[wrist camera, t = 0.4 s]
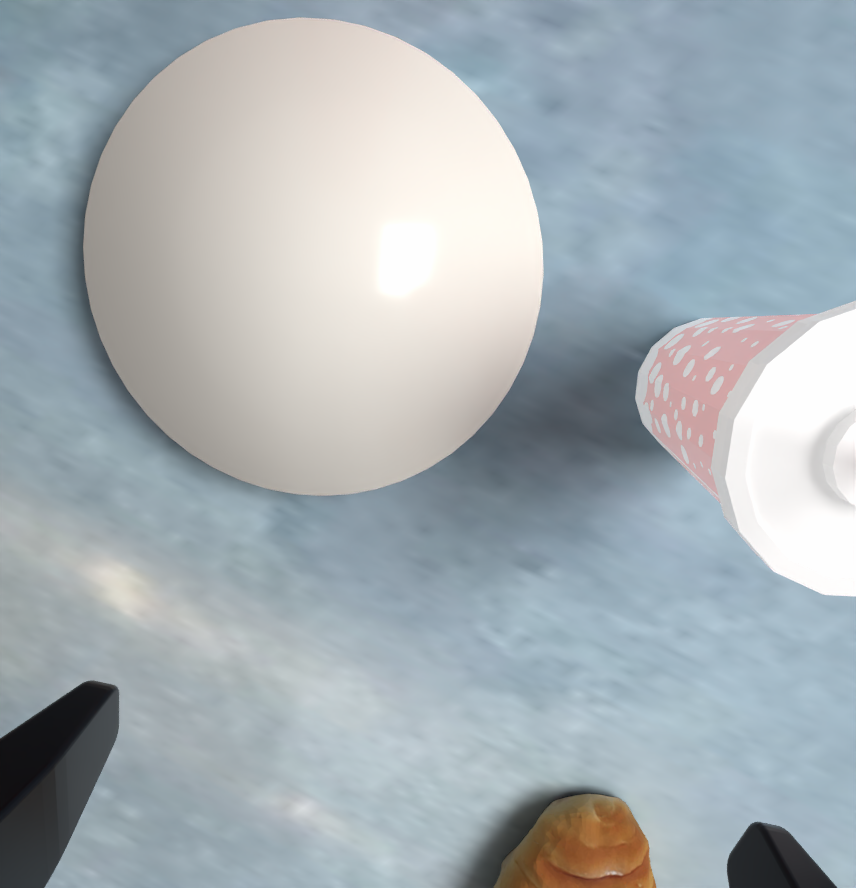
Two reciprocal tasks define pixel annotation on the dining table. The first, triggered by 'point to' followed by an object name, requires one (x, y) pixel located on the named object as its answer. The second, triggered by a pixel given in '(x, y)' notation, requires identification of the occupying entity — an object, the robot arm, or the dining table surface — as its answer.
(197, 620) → the dining table surface
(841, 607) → the dining table surface
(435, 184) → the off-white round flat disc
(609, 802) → the pastry
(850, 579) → the beverage cup
